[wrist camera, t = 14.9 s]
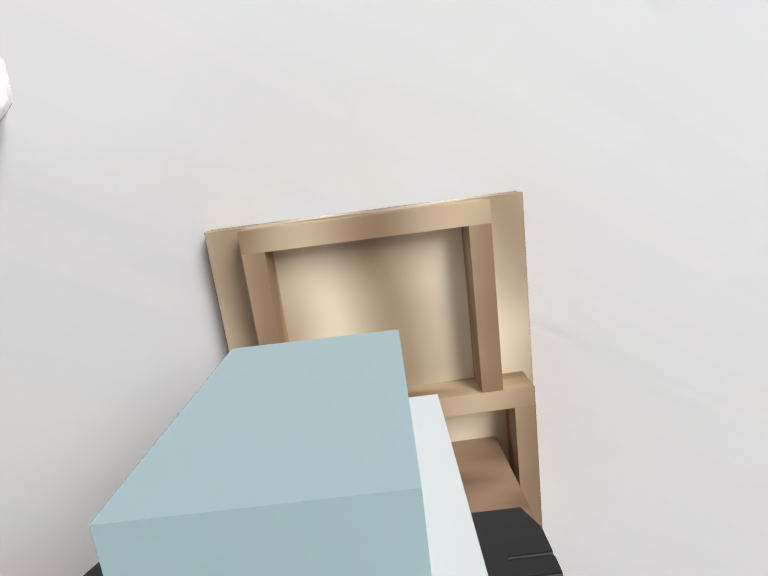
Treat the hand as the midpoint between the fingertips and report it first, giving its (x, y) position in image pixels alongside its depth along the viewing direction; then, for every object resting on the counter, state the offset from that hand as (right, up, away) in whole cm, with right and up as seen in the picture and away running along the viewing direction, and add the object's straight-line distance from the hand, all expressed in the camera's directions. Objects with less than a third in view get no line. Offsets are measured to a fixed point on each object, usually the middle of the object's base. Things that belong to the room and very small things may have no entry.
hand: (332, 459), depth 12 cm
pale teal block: (0, 0, 0) cm, 0 cm away
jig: (+1, -1, +14) cm, 14 cm away
